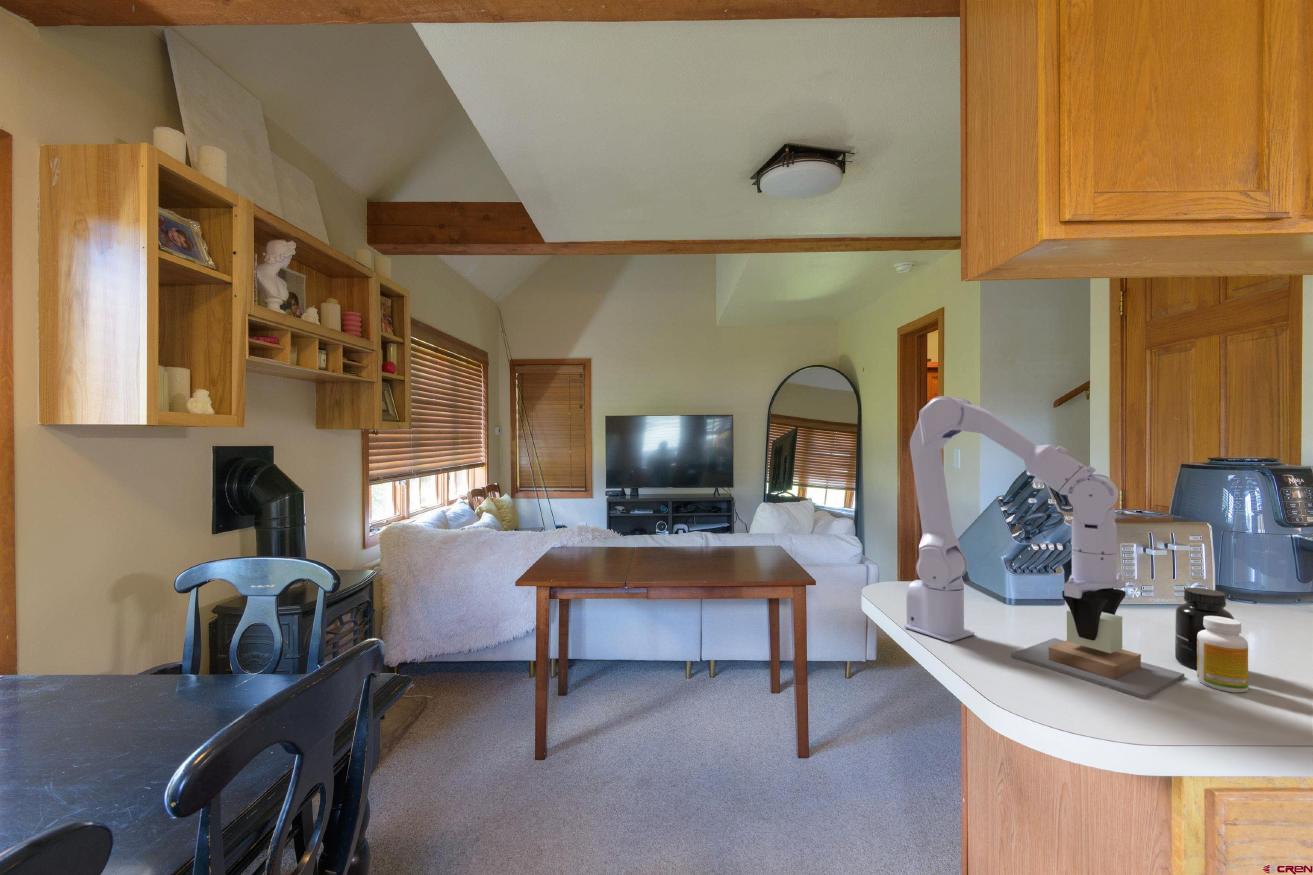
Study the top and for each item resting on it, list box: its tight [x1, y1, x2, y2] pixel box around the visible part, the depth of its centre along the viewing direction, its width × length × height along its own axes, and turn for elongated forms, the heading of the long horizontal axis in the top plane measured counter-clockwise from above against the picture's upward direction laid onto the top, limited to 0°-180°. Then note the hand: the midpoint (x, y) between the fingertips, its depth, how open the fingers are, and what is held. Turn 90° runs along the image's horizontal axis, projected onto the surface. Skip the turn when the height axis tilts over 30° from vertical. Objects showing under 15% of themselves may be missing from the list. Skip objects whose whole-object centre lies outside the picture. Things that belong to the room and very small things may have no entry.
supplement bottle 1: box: [1174, 587, 1235, 671], centre depth 92 cm, size 7×7×12 cm
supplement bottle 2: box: [1196, 616, 1249, 693], centre depth 85 cm, size 5×5×10 cm
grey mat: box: [1011, 637, 1185, 700], centre depth 92 cm, size 18×14×1 cm
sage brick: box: [1066, 609, 1123, 653], centre depth 92 cm, size 6×4×5 cm, turn 31°
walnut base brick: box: [1049, 640, 1142, 680], centre depth 92 cm, size 9×9×2 cm
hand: (1093, 635), depth 92 cm, fingers closed on sage brick, 4 cm apart
